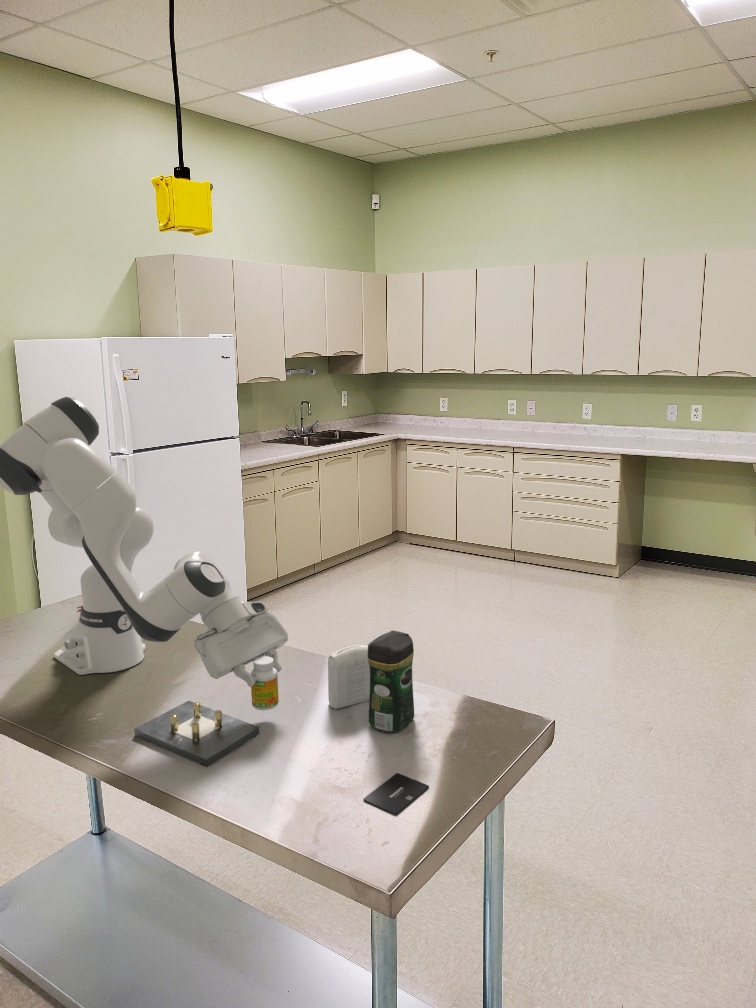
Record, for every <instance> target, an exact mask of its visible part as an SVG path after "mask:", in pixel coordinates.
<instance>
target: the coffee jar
mask: <svg viewBox="0 0 756 1008" xmlns="http://www.w3.org/2000/svg"><path fill="white" fill-rule="evenodd" d="M367 646H368V657H367V658H368V663H369V667H370V695H369V700H368V725H369V726H370V727H371V728H373V729H374V730H376V731H378V732H382V733H395V734H396V733H398V732H400V731H402V730H404V729H405V728H406V727H407V726H408V725H410V724H411V722H412V721H413V720H414V718H415V702H414V701H415V699H414V689H413V688H414V683H413V682H414V681H413V662H414V652H415V651H414V642H413V639H412V637H411V636H410V634H409V633H405V632H402V631H398V630H390V631H387V632H385V633H384V634H383V633H382V634H381V635H380V636H377V637H376V638H375V639H373V640H372V641H370V642H369V643H368V645H367Z"/></svg>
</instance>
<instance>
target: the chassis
mask: <svg viewBox="0 0 756 1008" xmlns="http://www.w3.org/2000/svg"><path fill="white" fill-rule="evenodd" d="M133 729H134V737H137V738H140V739H141V740H143V741H146V742H149V743H151V744H153V745H155V746H158V747H160V748H161V749H162V748H163V749H165V750H167V751H169V752H171V753H173V754H176V755H178V756H181V757H183V758H185V759H188V760H190V761H192V762H194V763H197V764H199V765H202V766H204V767H206V768H208V767H210V766H211V765H213V764H214V763H216V762H217V761H219V760H221V759H222V758H224V757H225V756H228V754H230V753H232V752H233V751H236V750H237V749H238V748H240V747H242V746H244V745H245V744H247V743H248V742H249V741H251V740H253V739H254V738H256V737H258V736H259V735H260V733H261V731H260V730H261V729H260V726H258V725H255V724H252V723H249V722H247V721H244V720H242V719H239V718H236V717H234V716H230V715H228V714H225V713H223V712H222V710H221V709H217V710H215V709H212V708H209V707H207V706H204V705H202V704H201V702H200V701H195V702H193V701H192V700H187V701H185V702H183V703H181V704H178V705H177V706H176V707H174V708H171V709H169V710H168V711H165V712H164V713H162V714H160V715H158V716H155V717H154V718H153V719H150V720H148V721H146V722H145V723H142V724H141V725H138V726H137V727H135V728H133Z"/></svg>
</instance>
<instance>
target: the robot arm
mask: <svg viewBox="0 0 756 1008" xmlns="http://www.w3.org/2000/svg"><path fill="white" fill-rule="evenodd" d="M99 432H100V425H99V423H98V422H97V418H96V416H95V415H94V412H92V410H91V409H90V408H89V407H88V406H87V405H85V404H84V403H82V402H81V401H79V400H78V399H77V398H75V397H68V396H65V397H61V398H59V399H57V400H55V401H53V402H51V404H50V406H48V407H46V408H44V409H43V410H40V411H39V412H38V413H36V414H34V415H33V416H31V417H30V418H28V419H27V420H25V421H24V422H23V424H22V425H21V426H20V427H18V428H17V429H16V430H14V431H13V432H12V433H11V434H10V435H9V436H8V437H6V439H5V440H4V441H3V442H2V443H1V444H0V488H2V489H3V490H4V491H6V492H9V493H12V494H13V495H14V496H15V495H16V496H27V495H30V494H33V493H36V492H37V493H38V494H40V495H41V496H42V498H43V499H44V500H45V501H46V503H47V504H48V505H49V506H50V508H51V511H50V513H49V515H48V520H47V526H48V528H47V529H48V532H49V535H50V536H51V538H53V539H54V540H55V541H56V542H59V543H61V544H64V545H67V546H70V547H75V548H83V550H84V553H85V554H86V556H87V557H88V559H89V560H90V562H91V564H92V565H90V566H88V567H87V568H86V569H85V570H84V571H83V572H82V573H81V576H80V579H79V580H80V581H79V582H80V591H81V600H82V605H81V606H78V607H76V609H78V610H76V612H77V613H80V614H79V618H78V621H77V622H76V623H74V624H73V625H72V626H71V627H70V628H69V629H67V630H66V631H65V633H64V635H63V646H62V647H61V648H59V649H58V650H56V651H55V652H54V655H53V656H54V658H55V659H56V660H57V661H59V662H60V663H61V664H63V665H64V666H65V667H67V668H68V669H70V670H71V671H73V672H74V673H76V674H77V675H80V676H81V675H82V676H84V675H89V674H98V673H99V674H102V673H104V674H105V673H113V672H114V673H115V672H119V671H124V670H126V669H129V668H132V667H134V666H136V665H137V664H139V663H141V662H142V661H143V659H144V657H145V653H144V652H145V650H146V649H147V648H146V643H144V642H143V640H145V641H147V642H153V643H166V642H168V641H170V640H171V638H173V637H174V636H175V635H176V634H177V633H178V632H179V631H180V630H181V629H182V628H183V626H184V627H185V625H186V624H187V623H188V622H190V621H191V620H193V618H195V617H196V616H198V615H200V619H201V621H202V623H203V624H204V626H205V628H206V629H207V631H206V632H204V633H200V634H198V635H197V636H196V638H195V640H194V643H193V644H194V648H195V649H196V651H197V652H198V654H199V657H200V658H201V661H202V664H203V666H204V667H205V669H206V671H207V673H208V675H209V677H211V678H213V679H215V680H218V679H220V678H222V677H224V676H226V675H228V674H230V673H232V672H233V674H234V676H236V677H238V678H239V679H241V680H243V681H244V682H245V683H246V684H247V686H248V687H249V688H251V687H252V686H254V685H255V684H257V683H258V678H256V675H255V674H253V675H251V672H248V671H247V670H246V665H248V664H250V663H252V662H253V661H254V659H255V658H257V657H261V656H268V657H271V658H273V661H274V668H275V669H276V670H277V674H278V673H280V672H281V671H282V666H281V663H280V662H279V659H278V652H277V650H278V649H280V648H282V647H283V646H284V645H285V644H286V643H287V642H288V640H289V634H288V632H287V630H286V629H285V628H284V626H283V624H282V623H281V622H280V621H279V619H278V617H277V616H275V614H274V613H272V612H270V611H268V610H269V609H270V608H269V606H268V604H267V603H266V602H264V601H245V600H244V601H243V600H241V598H240V596H239V595H238V594H236V593H235V592H234V591H233V589H232V588H231V584H230V582H229V580H228V578H227V577H226V576H225V574H224V573H223V572H222V570H221V569H220V568H219V566H218V565H217V564H216V563H215V562H214V561H213V560H212V559H211V557H209V555H208V554H206V553H205V552H203V551H192V552H190V553H188V554H186V555H184V556H182V557H181V558H179V559H178V560H177V561H176V562H175V564H174V566H173V571H171V572H170V573H169V574H167V575H166V577H164V578H163V579H162V580H161V581H160V582H158V583H157V584H155V586H153V587H152V588H151V589H149V590H147V591H146V590H143V589H142V588H141V586H140V585H139V584H138V583H137V581H136V579H135V578H134V576H133V575H132V570H133V569H132V568H133V564H134V561H135V559H136V558H137V556H138V554H139V553H140V552H141V551H142V550H143V549H144V548H145V547H147V545H148V544H149V543H150V541H151V539H152V537H153V536H154V535H153V534H154V521H153V519H152V516H151V514H150V513H149V511H148V510H146V509H144V508H141V507H138V506H137V497H136V493H135V491H134V489H133V488H132V486H131V485H130V484H129V482H128V481H127V480H126V478H124V476H123V475H122V474H121V473H120V472H119V471H118V470H117V468H115V467H114V466H113V465H112V464H111V463H110V462H109V461H108V460H107V459H106V458H105V457H104V456H102V455H101V454H100V453H99V452H98V451H97V450H96V449H94V448H93V447H91V445H92V443H94V442H95V441H96V438H97V437H98V436H99V434H100V433H99ZM142 639H143V640H142Z"/></svg>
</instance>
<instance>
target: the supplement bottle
mask: <svg viewBox="0 0 756 1008" xmlns="http://www.w3.org/2000/svg"><path fill="white" fill-rule="evenodd" d="M252 662H253V669H252V670H251V671H250V674H251V675H253V674H255V675H256V678H258V683H257V684H255V685H254V686H252V687H250V692H251V693H250V694H251V706H252V707H253V708H254V709H256V710H259V711H267V710H268V711H269V710H272V709H274V708H276V707H277V706H278V705H279V703H280V701H279V679H278V678H279V676H278V675H279V674H278V673H277V670H276V669H275V668H274V661H273V658H271V657H268V656H265V655H264V656H261V657H257V658H255V659H254V661H252Z"/></svg>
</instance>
